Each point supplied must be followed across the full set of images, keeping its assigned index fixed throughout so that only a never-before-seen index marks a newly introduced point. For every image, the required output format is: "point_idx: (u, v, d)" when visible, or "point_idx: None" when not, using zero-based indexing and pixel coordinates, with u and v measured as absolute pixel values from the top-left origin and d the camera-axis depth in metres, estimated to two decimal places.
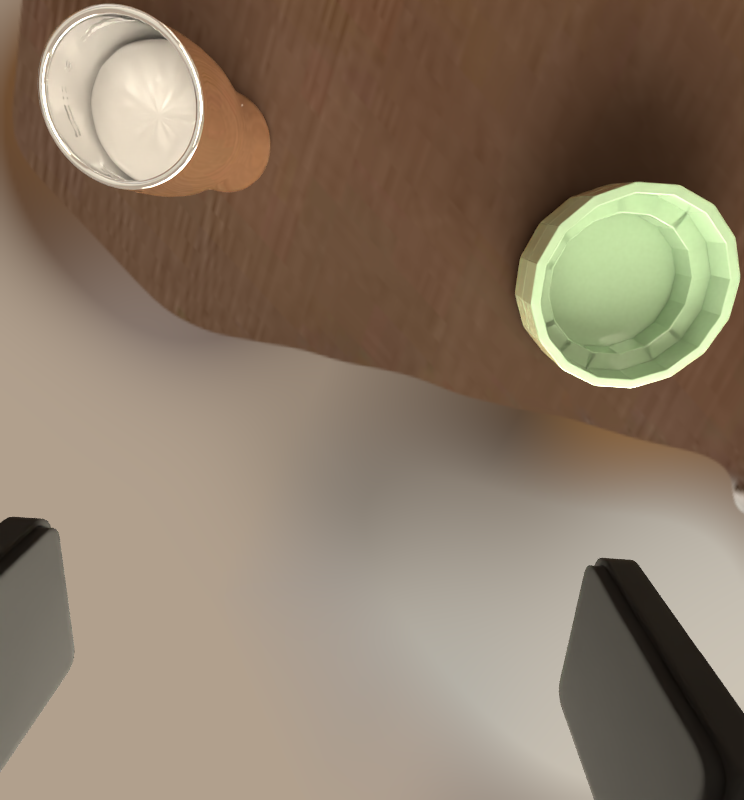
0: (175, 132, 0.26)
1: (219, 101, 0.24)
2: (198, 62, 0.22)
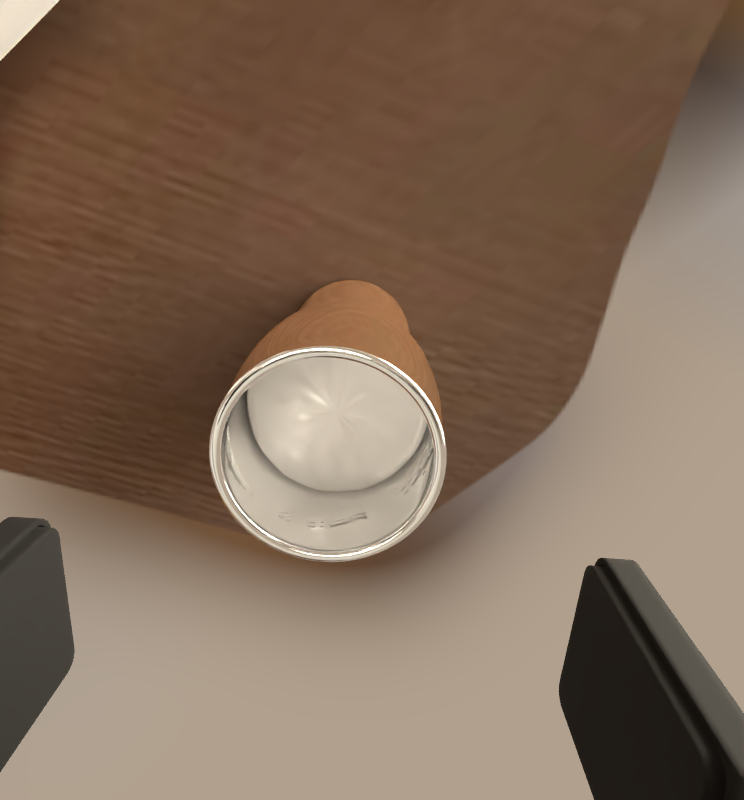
0: (357, 392, 0.19)
1: (320, 325, 0.16)
2: (272, 349, 0.15)
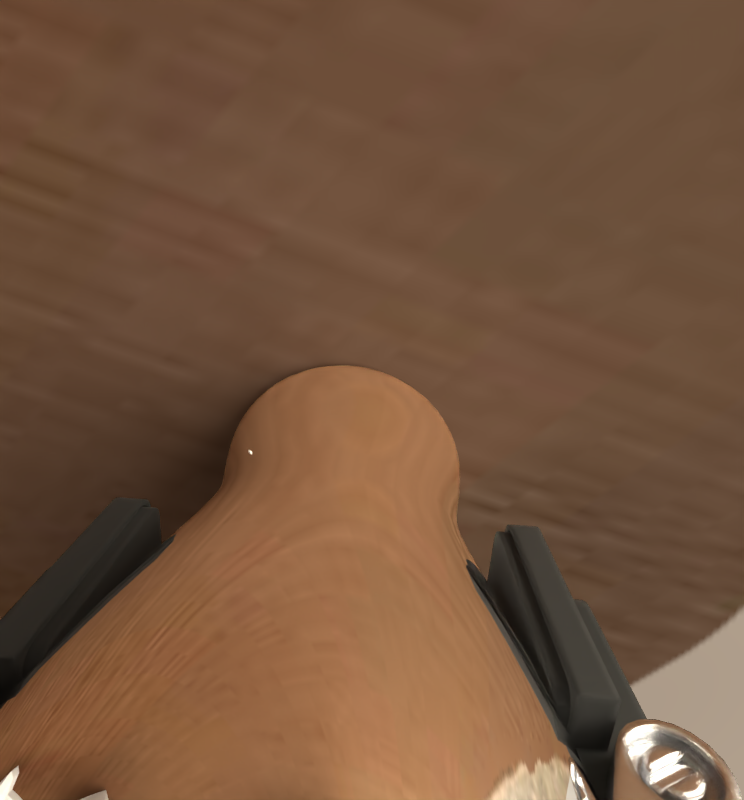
0: None
1: None
2: None
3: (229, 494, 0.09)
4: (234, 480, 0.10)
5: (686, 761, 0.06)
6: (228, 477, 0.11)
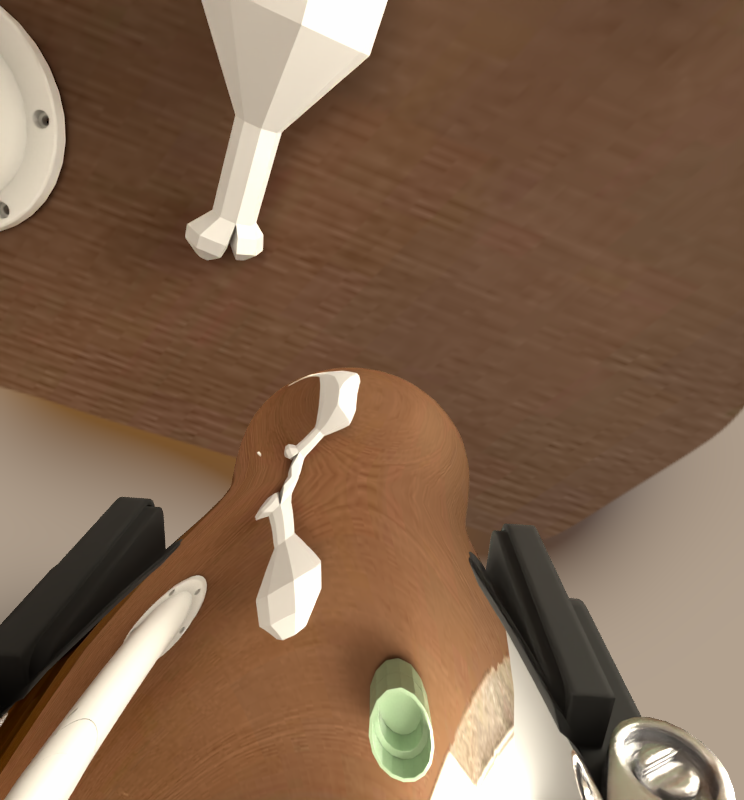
0: None
1: None
2: None
3: (238, 497, 0.08)
4: (243, 482, 0.10)
5: (680, 758, 0.06)
6: (237, 479, 0.11)
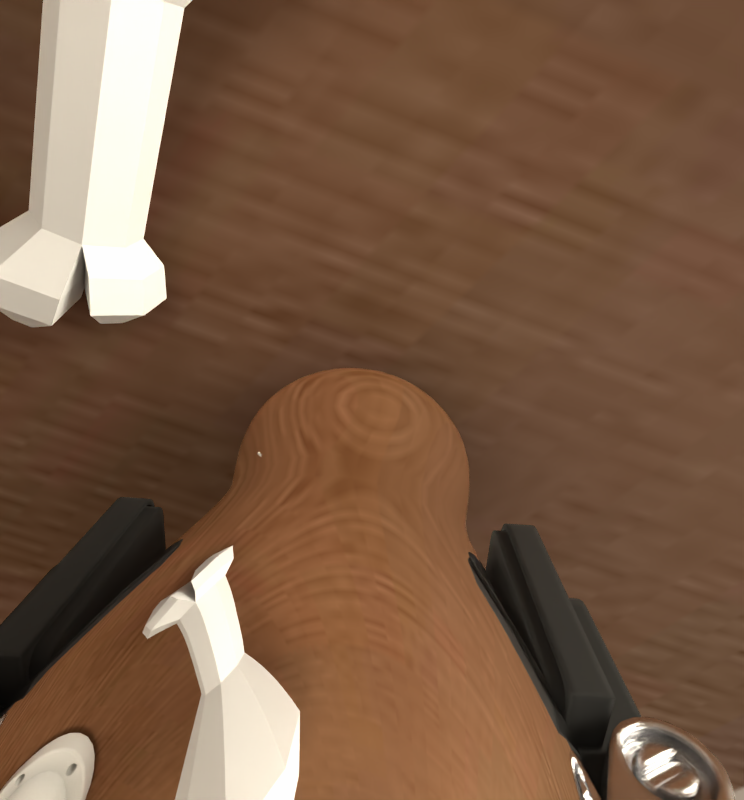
0: None
1: None
2: None
3: (238, 497, 0.09)
4: (243, 482, 0.10)
5: (680, 759, 0.06)
6: (237, 479, 0.11)
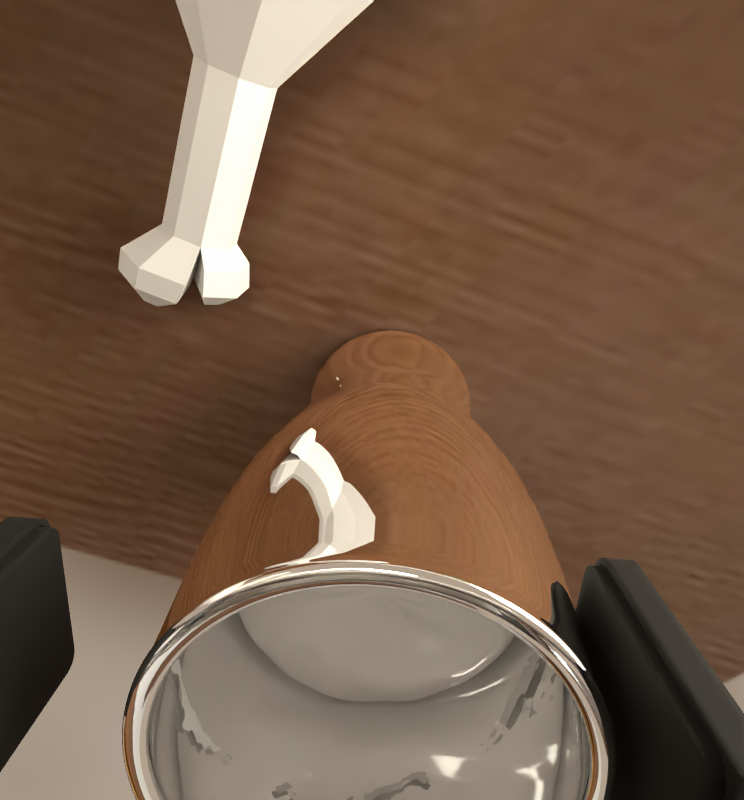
0: None
1: (352, 478, 0.08)
2: (254, 541, 0.07)
3: (338, 387, 0.15)
4: (335, 386, 0.16)
5: None
6: (325, 392, 0.18)
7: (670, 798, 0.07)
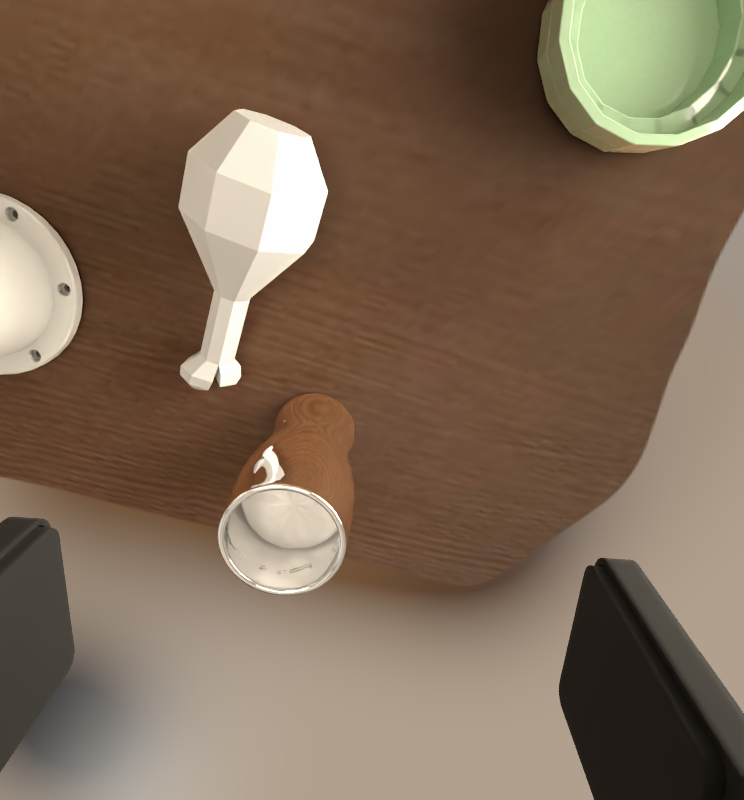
0: None
1: (277, 465, 0.29)
2: (250, 482, 0.28)
3: (282, 428, 0.36)
4: (281, 426, 0.37)
5: None
6: (278, 428, 0.38)
7: (670, 798, 0.07)
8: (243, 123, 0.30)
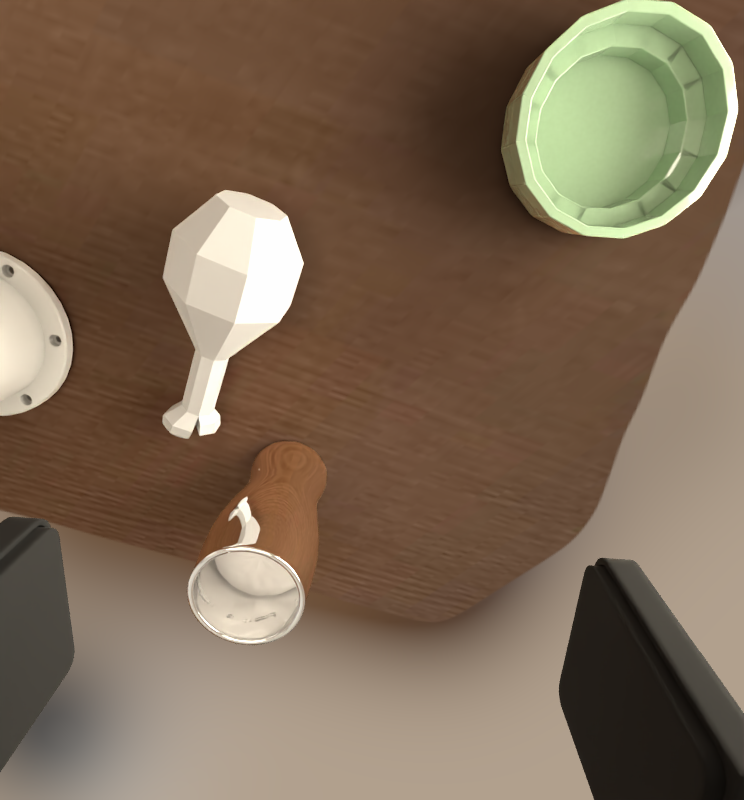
0: None
1: (244, 525, 0.32)
2: (218, 542, 0.31)
3: (255, 480, 0.39)
4: (255, 477, 0.40)
5: None
6: (253, 476, 0.41)
7: (670, 798, 0.07)
8: (223, 209, 0.32)
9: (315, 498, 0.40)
